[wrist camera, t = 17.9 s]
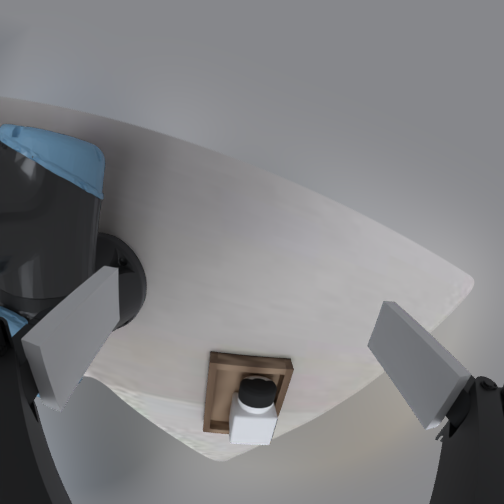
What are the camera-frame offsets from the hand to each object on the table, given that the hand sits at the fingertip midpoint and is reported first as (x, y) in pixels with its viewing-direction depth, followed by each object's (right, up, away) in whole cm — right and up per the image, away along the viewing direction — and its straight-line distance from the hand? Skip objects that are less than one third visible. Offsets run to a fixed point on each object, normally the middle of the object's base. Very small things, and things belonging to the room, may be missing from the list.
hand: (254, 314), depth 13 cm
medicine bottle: (-1, -30, +31) cm, 43 cm away
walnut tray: (-2, -23, +34) cm, 41 cm away
